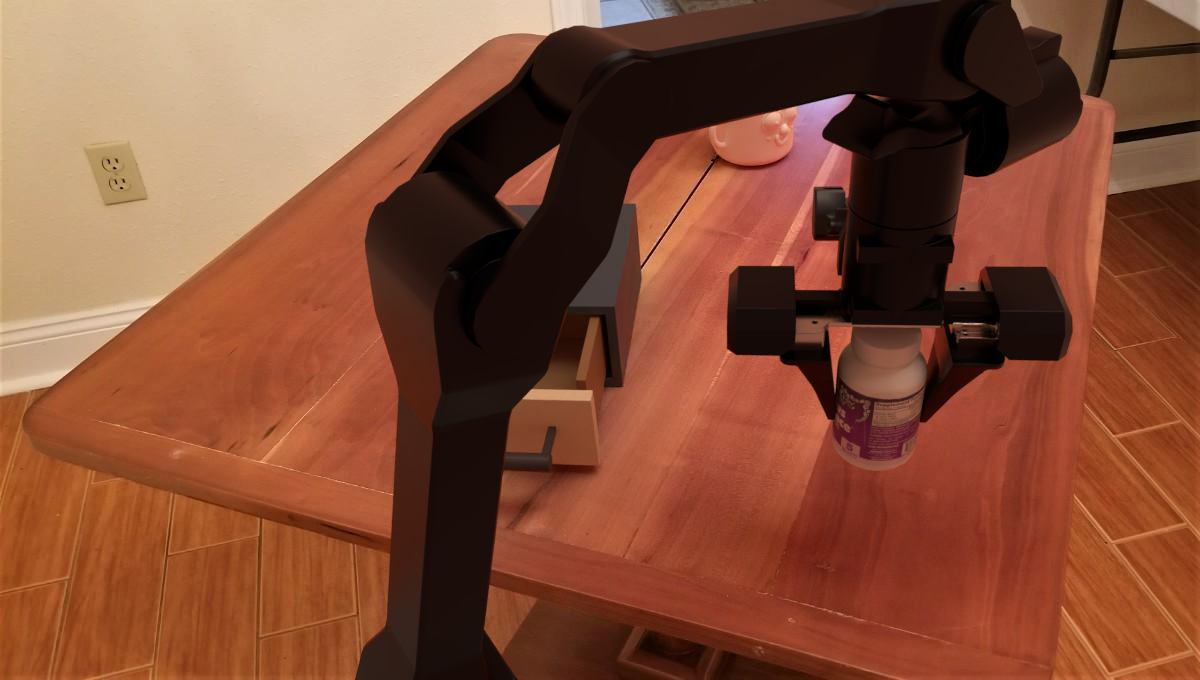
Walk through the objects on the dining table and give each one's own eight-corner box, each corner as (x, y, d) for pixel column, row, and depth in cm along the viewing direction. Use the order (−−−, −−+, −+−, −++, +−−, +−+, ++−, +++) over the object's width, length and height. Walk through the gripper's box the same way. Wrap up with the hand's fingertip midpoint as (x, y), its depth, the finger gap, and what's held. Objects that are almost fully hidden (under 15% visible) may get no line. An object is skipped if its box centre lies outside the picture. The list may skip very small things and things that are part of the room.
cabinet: (623, 386, 83) (614, 306, 77) (472, 383, 85) (454, 305, 79) (641, 278, 96) (635, 203, 90) (510, 278, 98) (497, 205, 92)
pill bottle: (817, 427, 63) (825, 312, 57) (890, 409, 64) (905, 294, 58) (852, 483, 59) (865, 365, 53) (930, 463, 60) (951, 345, 54)
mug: (743, 188, 108) (744, 114, 103) (683, 160, 115) (680, 90, 109) (813, 151, 114) (817, 79, 108) (751, 127, 120) (752, 58, 115)
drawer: (591, 506, 71) (582, 441, 66) (431, 500, 73) (412, 436, 68) (622, 342, 86) (615, 281, 82) (489, 341, 88) (476, 281, 84)
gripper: (1052, 132, 55) (1005, 341, 65) (731, 138, 58) (732, 337, 68) (1105, 232, 46) (1042, 456, 56) (725, 233, 49) (727, 445, 59)
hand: (876, 416), depth 60 cm, fingers closed on pill bottle, 5 cm apart
